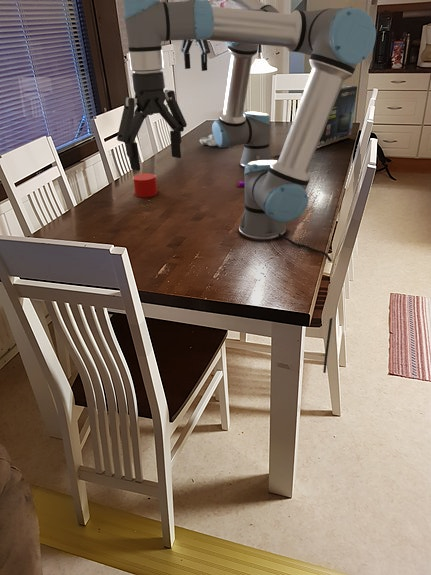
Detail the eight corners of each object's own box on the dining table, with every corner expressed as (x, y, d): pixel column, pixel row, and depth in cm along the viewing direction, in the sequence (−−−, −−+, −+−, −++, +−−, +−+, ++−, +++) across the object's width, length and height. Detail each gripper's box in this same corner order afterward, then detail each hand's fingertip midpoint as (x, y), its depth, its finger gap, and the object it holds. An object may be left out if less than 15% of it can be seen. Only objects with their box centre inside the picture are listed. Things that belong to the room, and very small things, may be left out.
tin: (133, 191, 188) (131, 175, 185) (154, 188, 191) (153, 172, 187) (137, 198, 181) (135, 181, 178) (159, 195, 183) (157, 178, 180)
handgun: (237, 185, 191) (237, 180, 190) (255, 183, 192) (255, 178, 191) (249, 201, 173) (249, 197, 172) (269, 199, 174) (269, 194, 174)
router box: (314, 151, 231) (318, 94, 217) (296, 148, 237) (299, 92, 224) (352, 138, 251) (358, 85, 238) (335, 135, 258) (340, 83, 245)
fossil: (223, 141, 238) (204, 123, 241) (212, 159, 245) (194, 141, 248) (240, 140, 252) (222, 123, 255) (230, 156, 258) (212, 139, 262)
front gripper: (176, 65, 115) (182, 150, 126) (92, 76, 100) (107, 172, 111) (197, 66, 111) (201, 154, 122) (112, 78, 96) (126, 178, 107)
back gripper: (171, 18, 212) (174, 68, 223) (202, 17, 194) (205, 72, 205) (184, 17, 215) (187, 67, 226) (216, 16, 198) (218, 70, 209)
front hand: (156, 163), depth 117 cm, fingers open, 13 cm apart
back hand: (195, 69), depth 216 cm, fingers open, 13 cm apart
